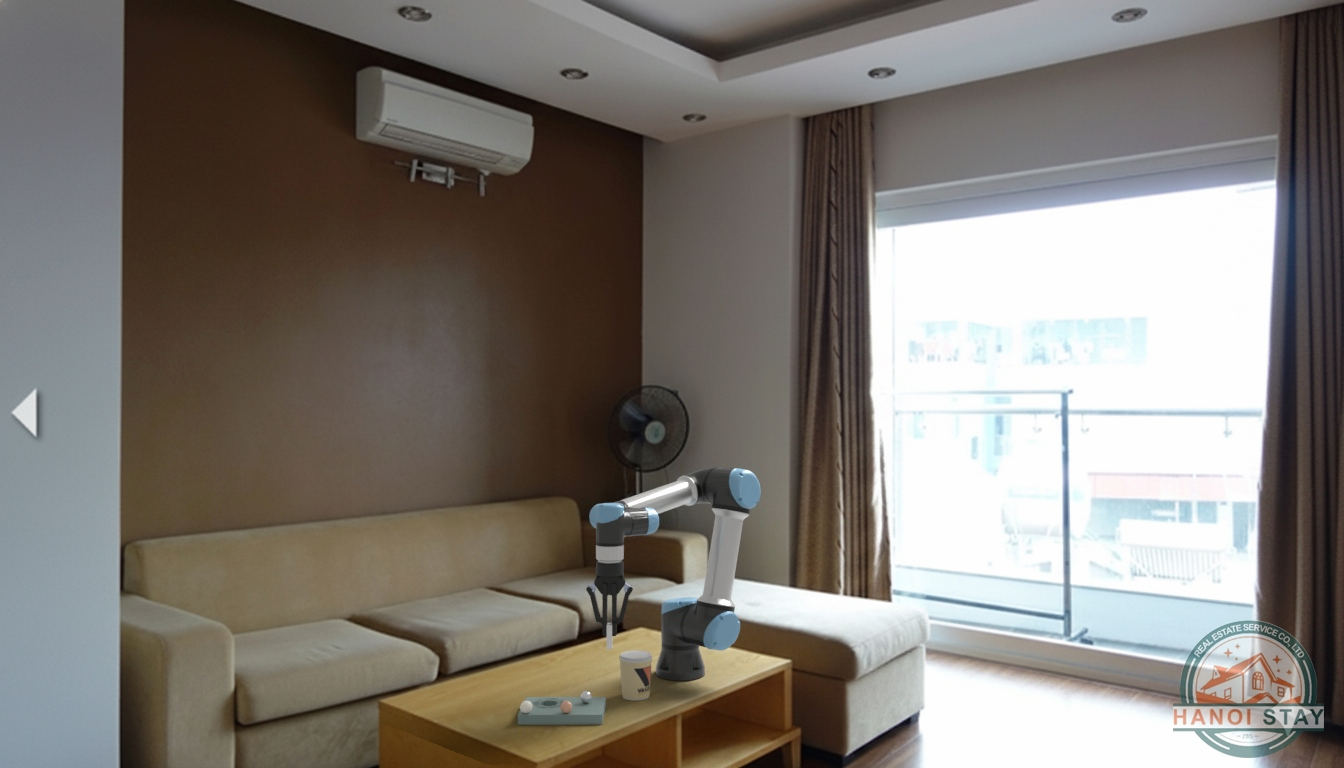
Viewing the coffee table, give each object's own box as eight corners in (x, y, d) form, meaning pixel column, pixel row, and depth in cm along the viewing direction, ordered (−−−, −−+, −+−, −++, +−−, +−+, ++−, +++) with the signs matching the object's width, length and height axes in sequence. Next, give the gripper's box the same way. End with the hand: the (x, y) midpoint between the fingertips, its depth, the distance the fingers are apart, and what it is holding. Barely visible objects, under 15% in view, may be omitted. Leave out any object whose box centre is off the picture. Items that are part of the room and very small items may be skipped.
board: (605, 705, 264) (605, 696, 264) (602, 724, 249) (602, 714, 249) (526, 706, 264) (526, 697, 264) (517, 724, 249) (517, 715, 249)
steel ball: (592, 701, 260) (592, 689, 260) (591, 705, 257) (591, 693, 257) (580, 701, 260) (580, 689, 260) (579, 705, 257) (579, 693, 257)
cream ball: (533, 711, 252) (533, 698, 252) (531, 715, 249) (531, 702, 249) (521, 711, 252) (521, 698, 252) (519, 715, 249) (519, 702, 249)
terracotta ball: (573, 710, 252) (573, 698, 252) (571, 714, 249) (571, 702, 249) (560, 711, 252) (560, 698, 252) (559, 715, 249) (559, 702, 249)
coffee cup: (640, 703, 266) (640, 660, 266) (613, 698, 271) (612, 655, 271) (658, 694, 274) (658, 652, 274) (631, 689, 279) (631, 648, 279)
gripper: (634, 558, 263) (634, 644, 263) (587, 558, 263) (586, 644, 262) (633, 563, 255) (633, 651, 255) (584, 562, 255) (584, 651, 255)
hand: (609, 647), depth 259 cm, fingers closed
